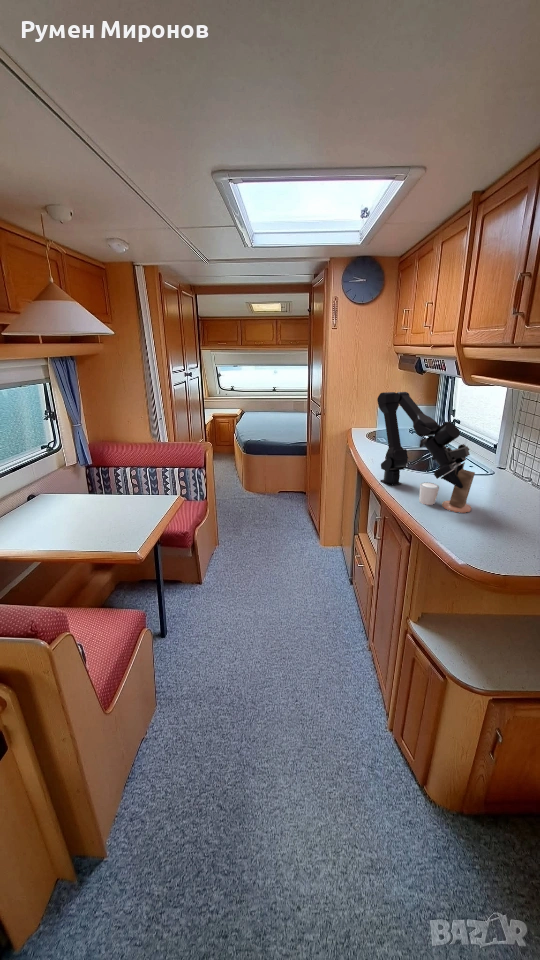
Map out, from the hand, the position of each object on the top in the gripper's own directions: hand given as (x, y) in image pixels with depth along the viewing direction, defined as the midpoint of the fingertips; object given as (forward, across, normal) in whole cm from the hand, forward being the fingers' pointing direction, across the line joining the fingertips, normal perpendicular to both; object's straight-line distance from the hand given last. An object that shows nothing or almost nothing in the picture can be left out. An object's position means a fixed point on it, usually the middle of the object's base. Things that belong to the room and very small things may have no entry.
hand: (464, 485), depth 145 cm
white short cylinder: (-2, -2, +15) cm, 15 cm away
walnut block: (+5, 0, +6) cm, 8 cm away
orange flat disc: (+5, 0, +7) cm, 9 cm away
